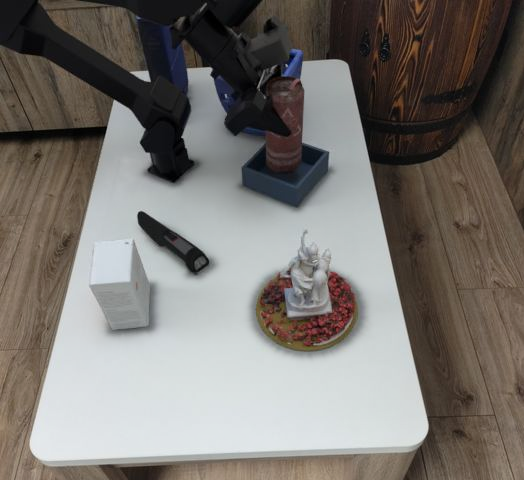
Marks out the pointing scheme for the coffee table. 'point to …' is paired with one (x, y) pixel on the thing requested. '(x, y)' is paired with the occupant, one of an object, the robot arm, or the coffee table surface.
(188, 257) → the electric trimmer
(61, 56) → the robot arm
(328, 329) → the figurine
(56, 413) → the coffee table surface
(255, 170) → the bin
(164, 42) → the book
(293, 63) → the flower pot
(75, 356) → the coffee table surface
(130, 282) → the small box
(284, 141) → the can
